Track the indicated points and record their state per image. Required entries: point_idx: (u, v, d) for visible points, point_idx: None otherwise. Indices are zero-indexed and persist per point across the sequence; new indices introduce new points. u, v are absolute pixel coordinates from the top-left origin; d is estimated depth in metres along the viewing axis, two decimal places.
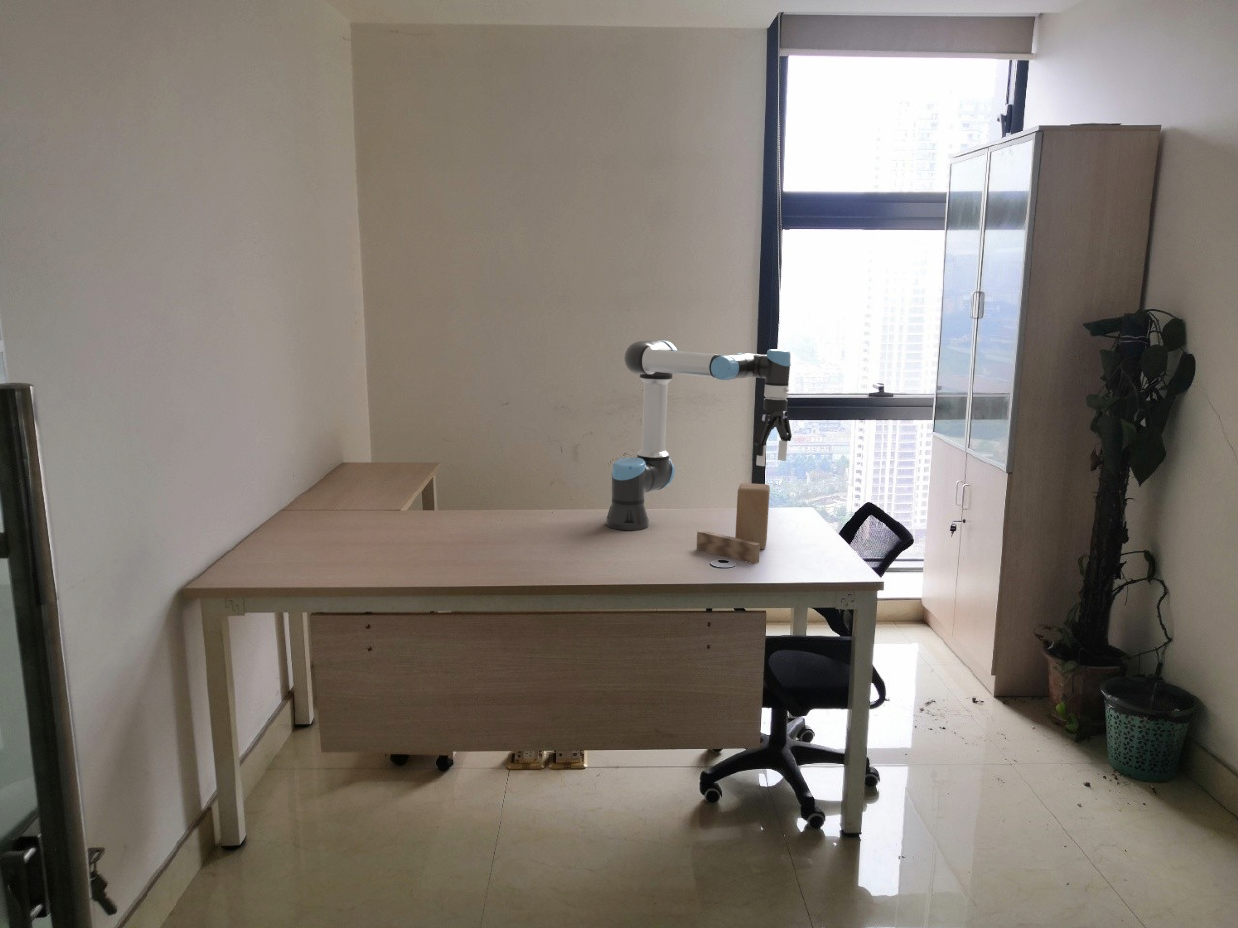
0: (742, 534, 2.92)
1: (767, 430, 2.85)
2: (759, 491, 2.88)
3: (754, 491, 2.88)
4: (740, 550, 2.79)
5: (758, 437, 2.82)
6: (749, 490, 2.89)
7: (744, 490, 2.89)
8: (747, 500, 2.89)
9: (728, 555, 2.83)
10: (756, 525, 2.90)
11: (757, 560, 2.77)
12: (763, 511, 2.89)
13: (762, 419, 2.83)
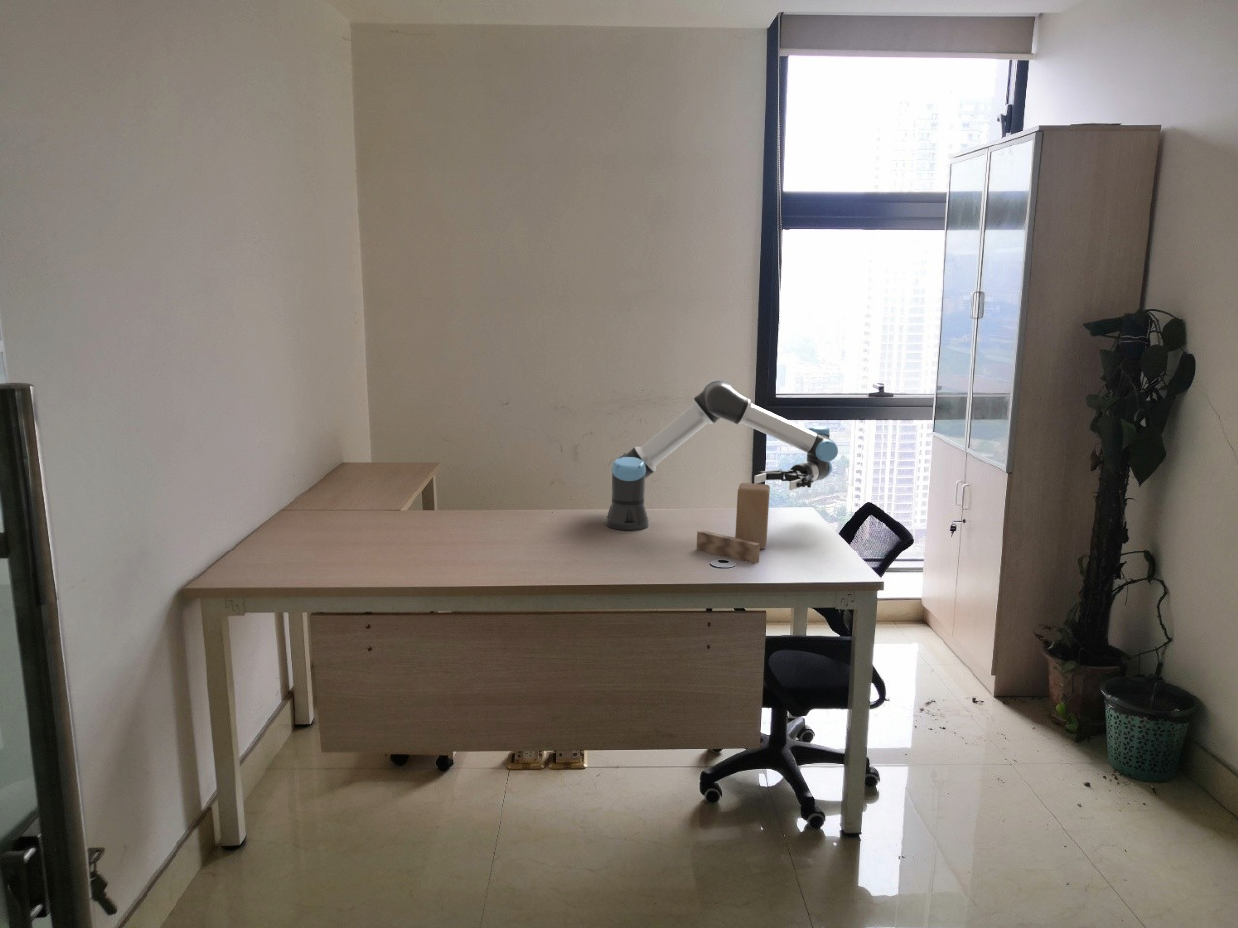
0: (742, 534, 2.92)
1: None
2: (759, 491, 2.88)
3: (754, 491, 2.88)
4: (740, 550, 2.79)
5: None
6: (749, 490, 2.89)
7: (744, 490, 2.89)
8: (746, 500, 2.89)
9: (728, 555, 2.83)
10: (756, 525, 2.90)
11: (757, 560, 2.77)
12: (763, 511, 2.89)
13: (812, 478, 3.09)
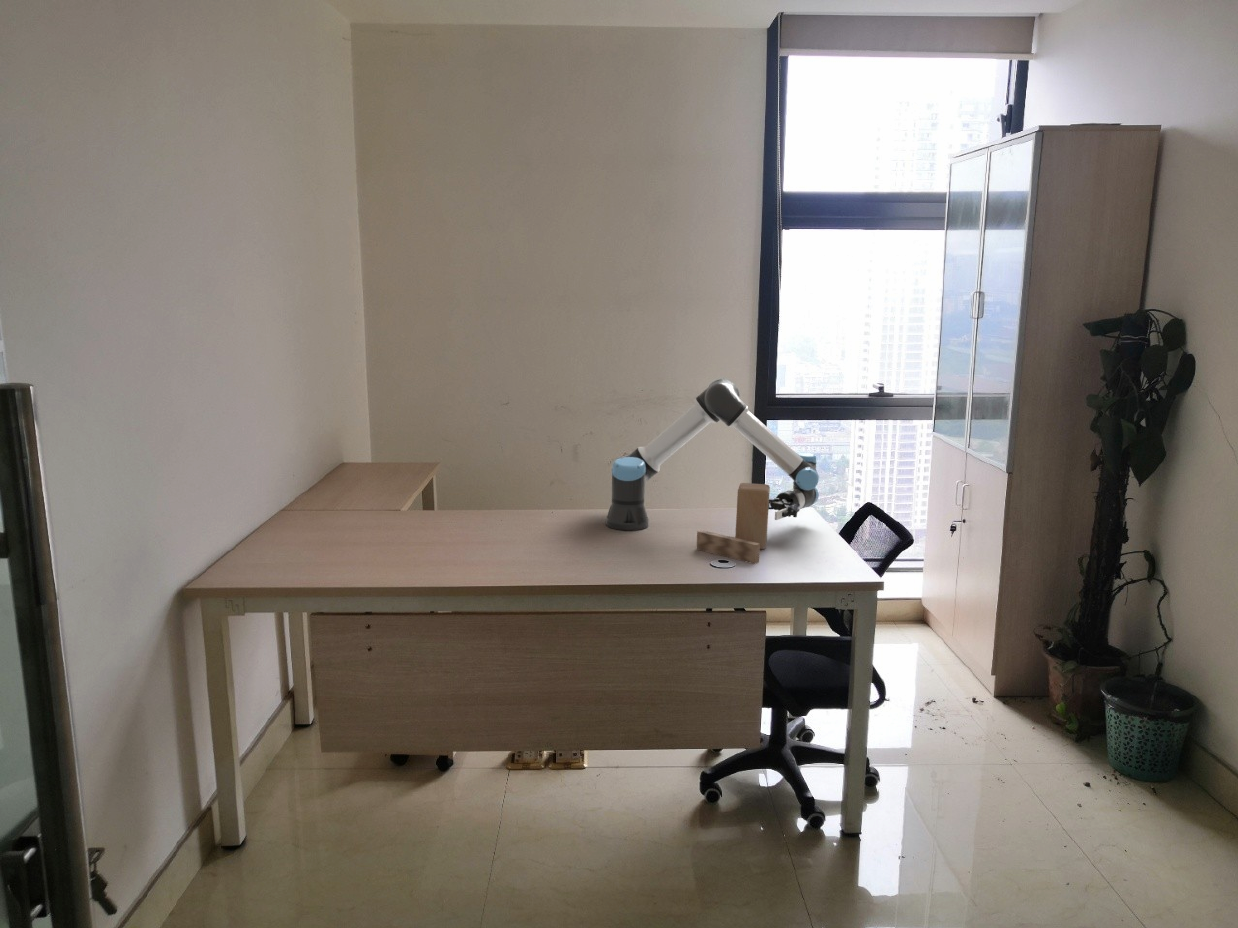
0: (742, 534, 2.92)
1: None
2: (759, 491, 2.88)
3: (754, 491, 2.88)
4: (740, 550, 2.79)
5: None
6: (749, 490, 2.89)
7: (744, 490, 2.89)
8: (747, 500, 2.89)
9: (728, 555, 2.83)
10: (756, 525, 2.90)
11: (757, 560, 2.77)
12: (763, 511, 2.89)
13: (798, 507, 3.03)
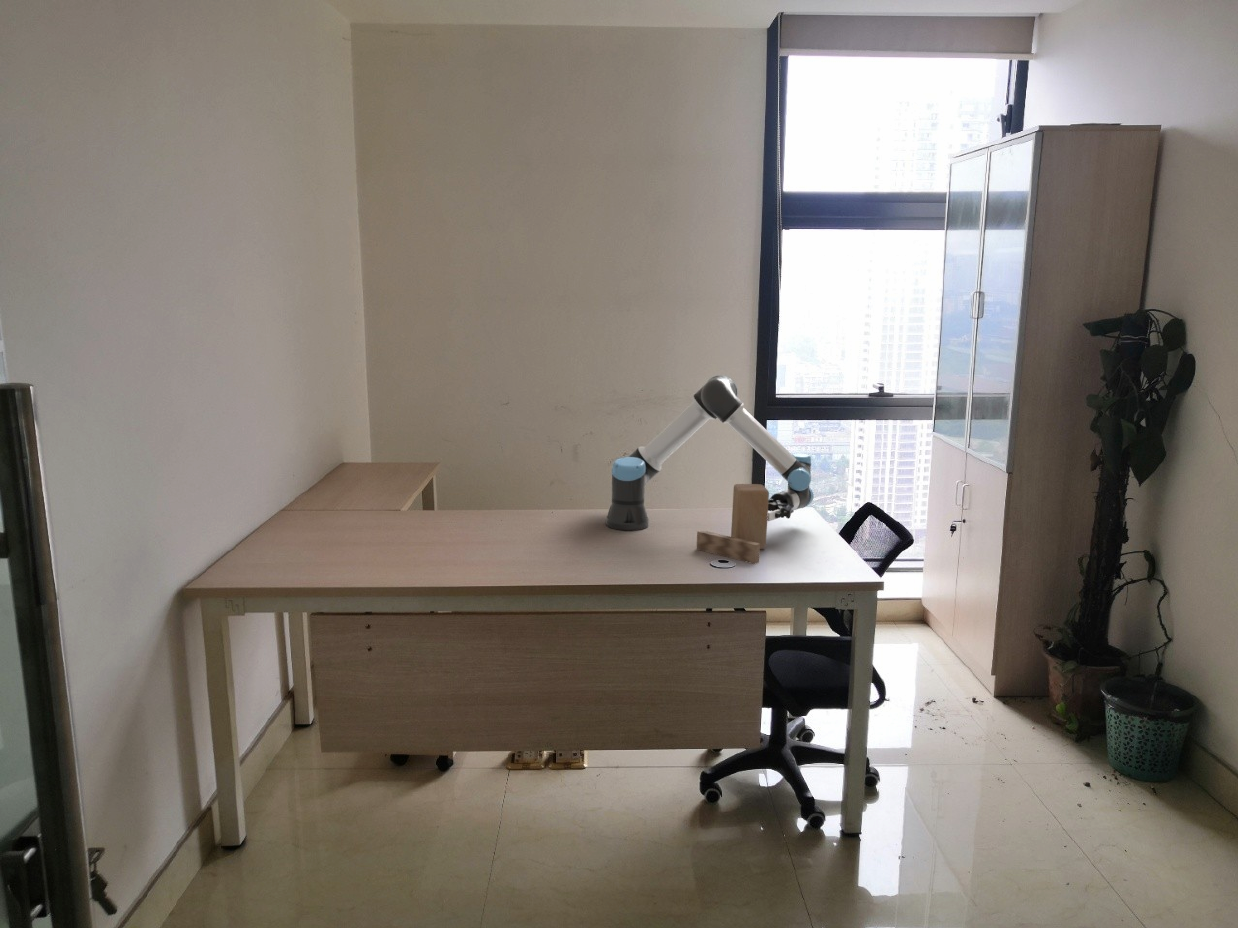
0: (743, 536, 2.90)
1: None
2: (760, 492, 2.87)
3: (755, 492, 2.87)
4: (740, 550, 2.79)
5: (790, 513, 2.95)
6: (750, 491, 2.87)
7: (745, 492, 2.87)
8: (748, 502, 2.87)
9: (728, 555, 2.83)
10: (757, 525, 2.89)
11: (757, 560, 2.77)
12: (764, 512, 2.88)
13: (792, 508, 3.01)
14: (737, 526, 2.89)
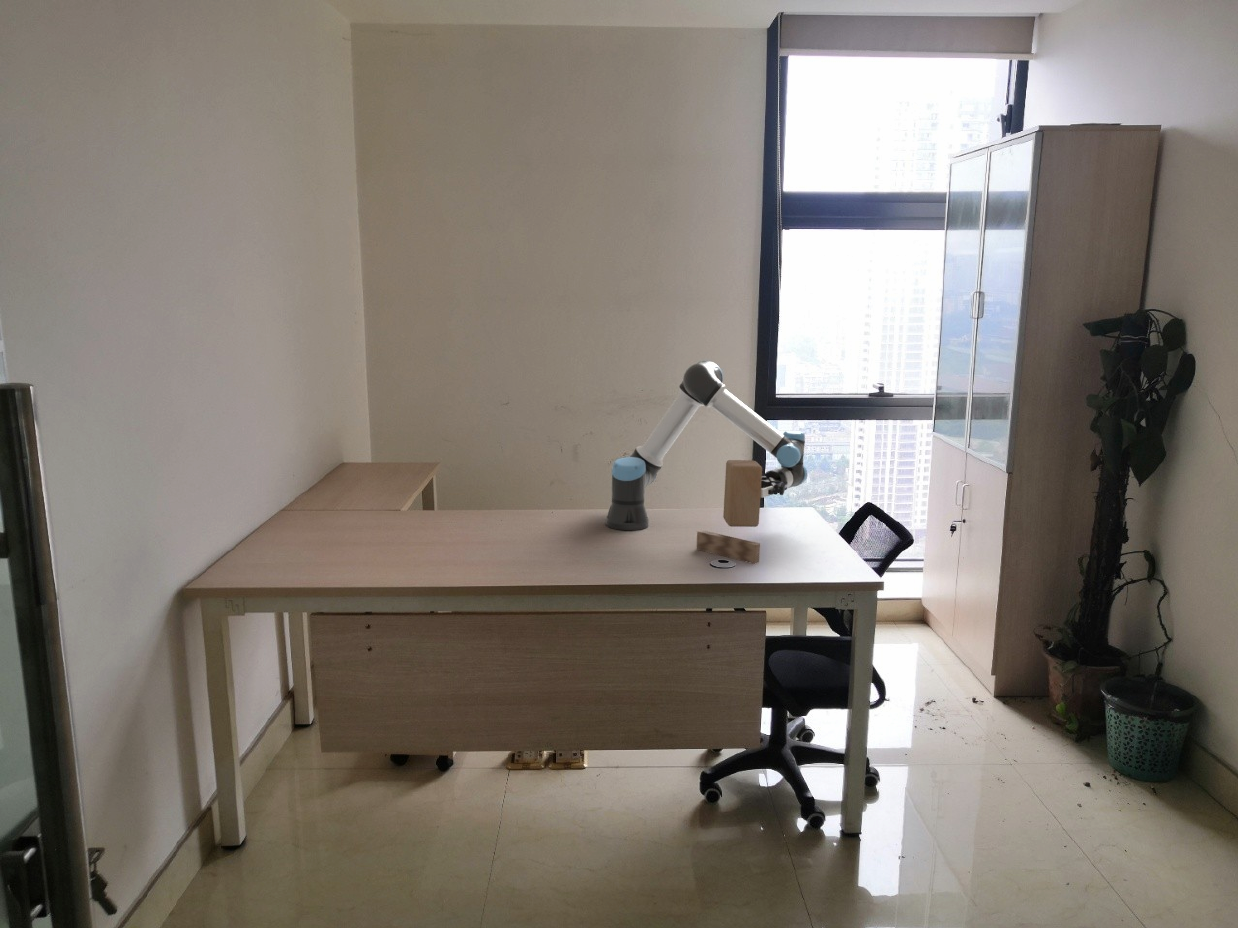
0: (736, 513, 2.84)
1: None
2: (753, 467, 2.81)
3: (748, 468, 2.81)
4: (740, 550, 2.79)
5: None
6: (743, 467, 2.81)
7: (738, 467, 2.81)
8: (741, 477, 2.81)
9: (728, 555, 2.83)
10: (750, 502, 2.83)
11: (757, 560, 2.77)
12: (757, 488, 2.82)
13: (785, 485, 2.95)
14: (730, 503, 2.83)
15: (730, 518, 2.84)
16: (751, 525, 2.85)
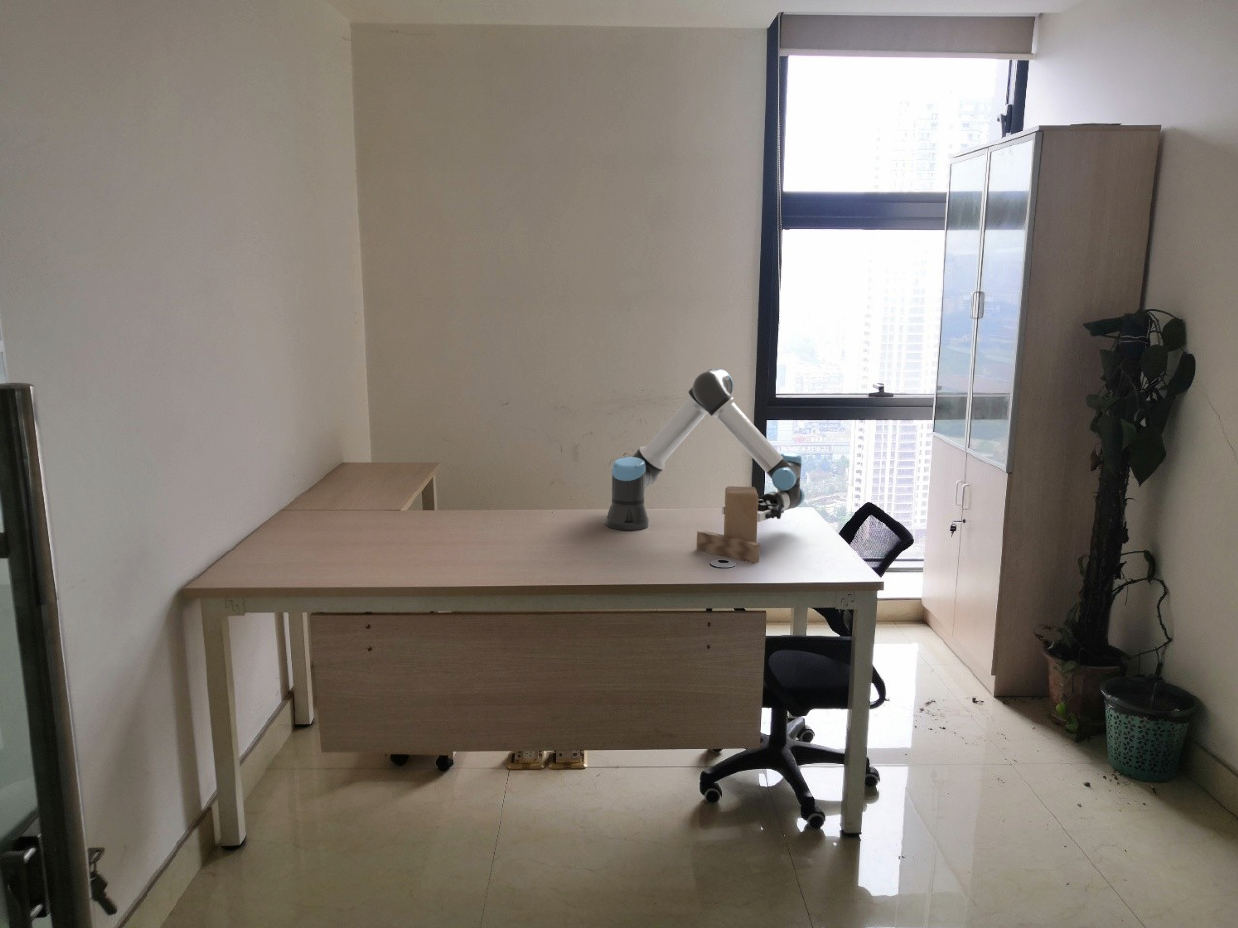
0: None
1: None
2: (749, 495, 2.82)
3: (744, 495, 2.82)
4: (740, 550, 2.79)
5: None
6: (738, 494, 2.82)
7: (733, 495, 2.82)
8: (736, 505, 2.83)
9: (728, 555, 2.83)
10: (746, 529, 2.84)
11: (757, 560, 2.77)
12: (753, 515, 2.83)
13: (782, 508, 2.96)
14: (726, 529, 2.85)
15: None
16: None
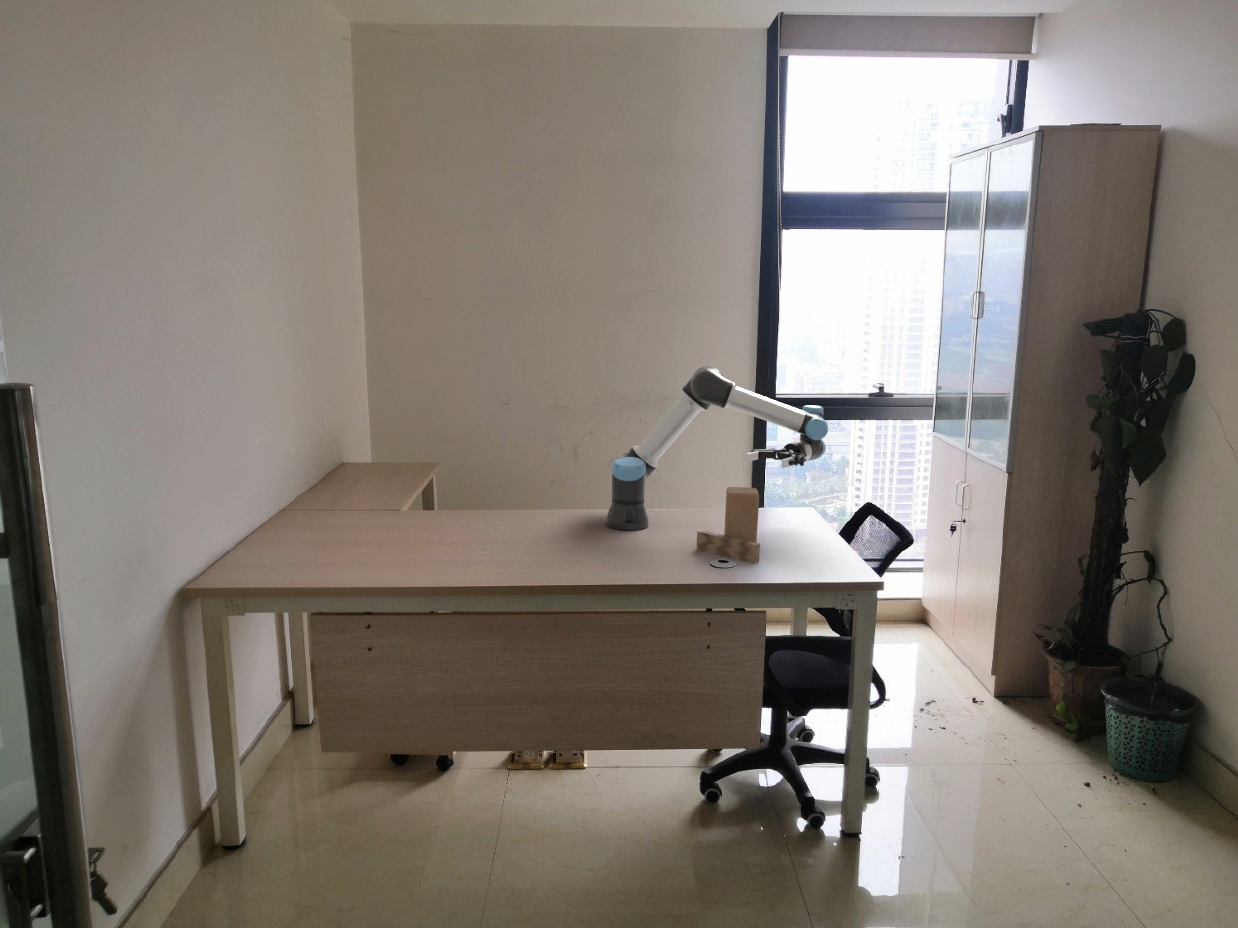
0: None
1: None
2: (749, 495, 2.82)
3: (744, 495, 2.82)
4: (740, 550, 2.79)
5: None
6: (739, 494, 2.83)
7: (734, 494, 2.83)
8: (737, 505, 2.83)
9: (728, 555, 2.83)
10: (747, 529, 2.84)
11: (757, 560, 2.77)
12: (753, 515, 2.83)
13: (805, 457, 3.03)
14: (726, 529, 2.85)
15: None
16: None
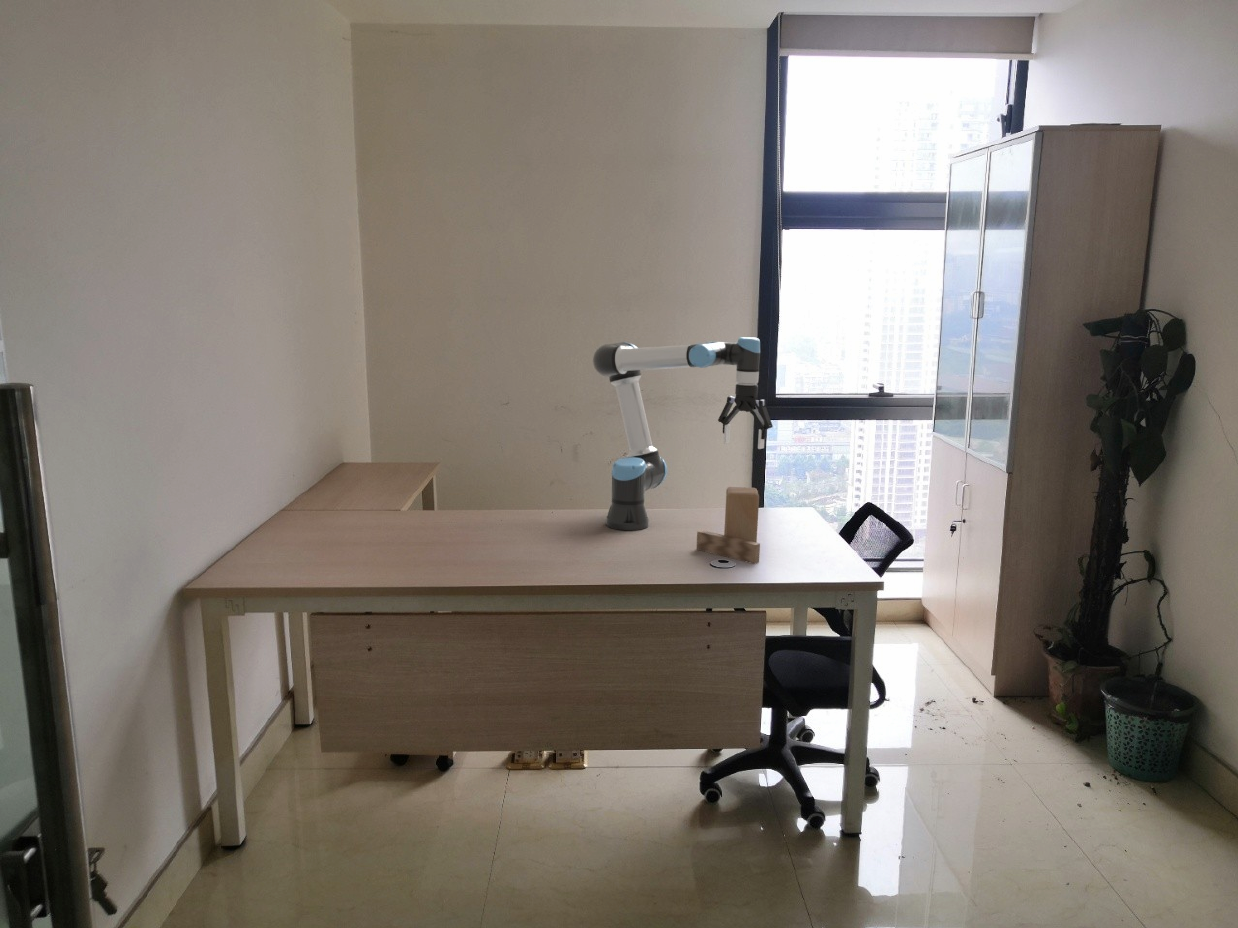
0: None
1: (759, 414, 3.00)
2: (749, 495, 2.82)
3: (744, 495, 2.82)
4: (740, 550, 2.79)
5: (769, 421, 2.98)
6: (739, 494, 2.83)
7: (734, 494, 2.83)
8: (737, 505, 2.83)
9: (728, 555, 2.83)
10: (747, 529, 2.84)
11: (757, 560, 2.77)
12: (753, 515, 2.83)
13: (763, 404, 2.98)
14: (726, 529, 2.85)
15: None
16: None
